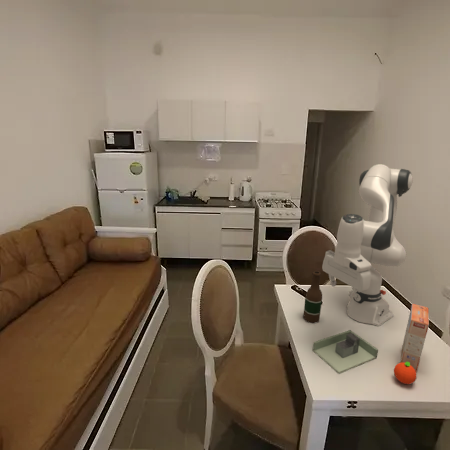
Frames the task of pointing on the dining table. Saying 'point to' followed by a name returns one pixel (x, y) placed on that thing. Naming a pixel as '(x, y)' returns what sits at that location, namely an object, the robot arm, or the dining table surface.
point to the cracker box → (415, 335)
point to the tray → (327, 353)
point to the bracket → (348, 346)
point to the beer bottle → (313, 300)
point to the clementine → (405, 373)
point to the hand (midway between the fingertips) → (342, 290)
